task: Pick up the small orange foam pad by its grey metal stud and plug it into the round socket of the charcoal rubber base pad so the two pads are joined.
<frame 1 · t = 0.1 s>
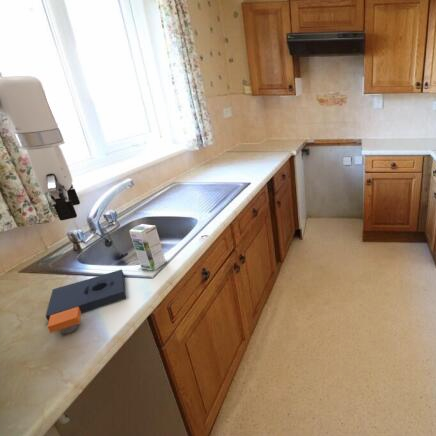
hand: (70, 211, 76), 30 cm above the counter, tool pointing down, fingers open, 9 cm apart
syrup box: (154, 265, 110), on the counter
top pad: (70, 329, 84), on the counter
base pad: (90, 297, 96), on the counter
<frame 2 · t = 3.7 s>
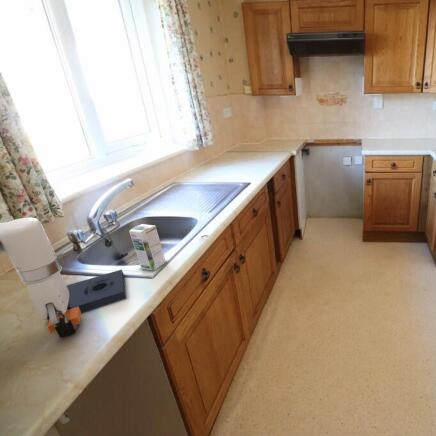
hand: (69, 327, 83), 1 cm above the counter, tool pointing down, fingers closed on top pad, 5 cm apart
top pad: (70, 329, 84), on the counter, touching gripper
everything else where it was.
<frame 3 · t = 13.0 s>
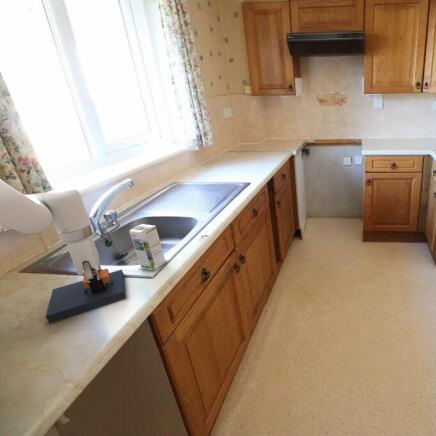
hand: (99, 286, 96), 3 cm above the counter, tool pointing down, fingers closed on top pad, 5 cm apart
top pad: (100, 287, 96), point 2 cm above the counter, touching gripper
everything else where it was.
when the fingers open (3 cm above the counter, at t = 16.7 s): top pad drops 3 cm, resting on base pad.
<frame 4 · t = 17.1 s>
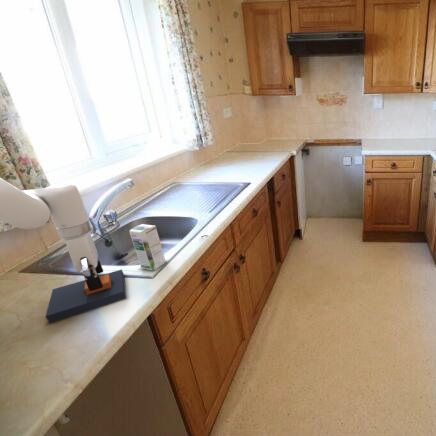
hand: (97, 280, 95), 5 cm above the counter, tool pointing down, fingers open, 8 cm apart
top pad: (102, 293, 97), resting on base pad
everything else where it was.
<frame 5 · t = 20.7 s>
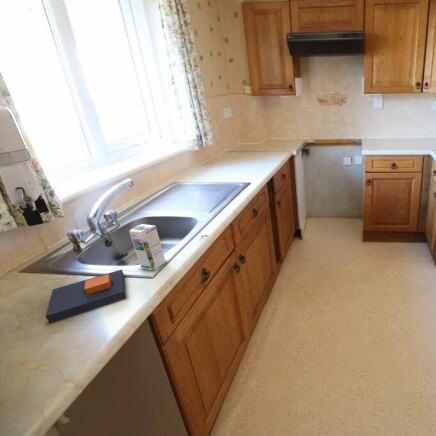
hand: (39, 218, 89), 24 cm above the counter, tool pointing down, fingers open, 9 cm apart
nothing on the counter moved.
at the end: top pad 0.1 cm from the target spot in the base pad, point 0.1 cm above the base pad's base; top pad tilted 0°; the gripper is holding nothing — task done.
